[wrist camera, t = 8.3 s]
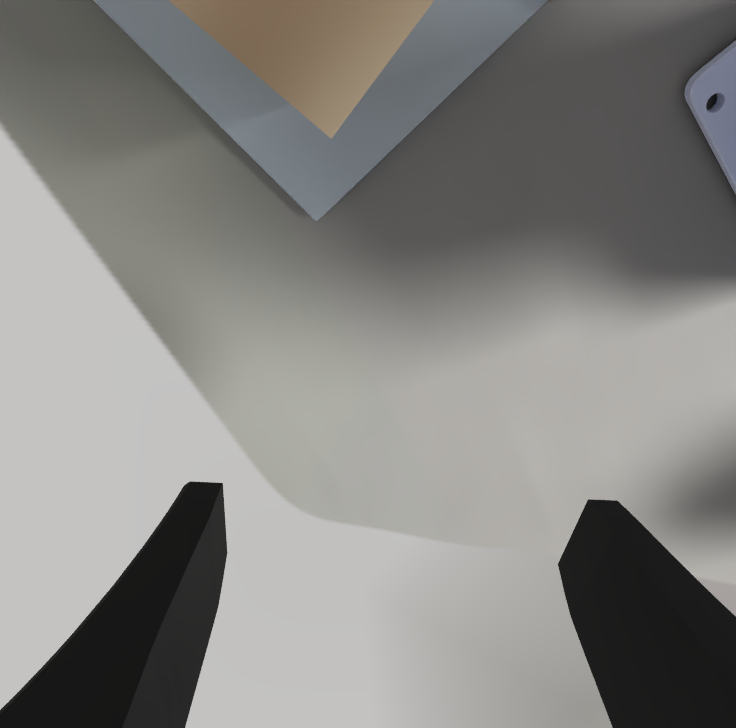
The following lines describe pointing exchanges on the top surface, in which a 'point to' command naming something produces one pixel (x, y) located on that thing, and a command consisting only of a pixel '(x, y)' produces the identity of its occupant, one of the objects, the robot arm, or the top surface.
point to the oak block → (311, 46)
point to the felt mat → (290, 127)
